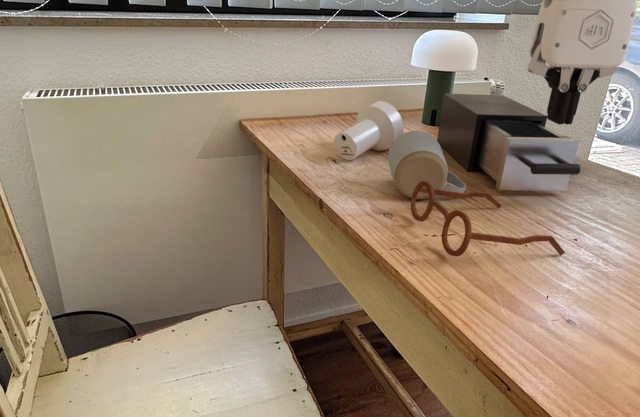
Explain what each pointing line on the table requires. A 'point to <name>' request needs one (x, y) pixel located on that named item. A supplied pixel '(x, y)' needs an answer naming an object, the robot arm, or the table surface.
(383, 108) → the spotlight
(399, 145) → the ceramic mug
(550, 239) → the glasses
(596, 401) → the table surface
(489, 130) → the drawer
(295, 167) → the table surface
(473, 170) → the dark brown hollow box
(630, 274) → the table surface
